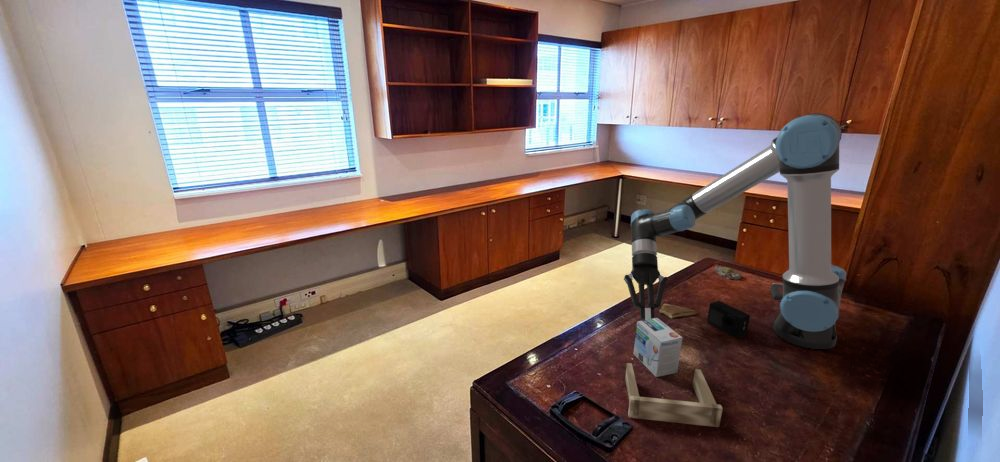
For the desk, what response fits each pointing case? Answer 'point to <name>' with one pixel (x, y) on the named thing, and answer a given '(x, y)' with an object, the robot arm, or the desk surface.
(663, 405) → the rack bay
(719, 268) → the mineral rock
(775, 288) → the usb drive
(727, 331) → the digital camera
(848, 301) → the desk surface
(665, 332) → the light bulb box
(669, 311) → the shard
